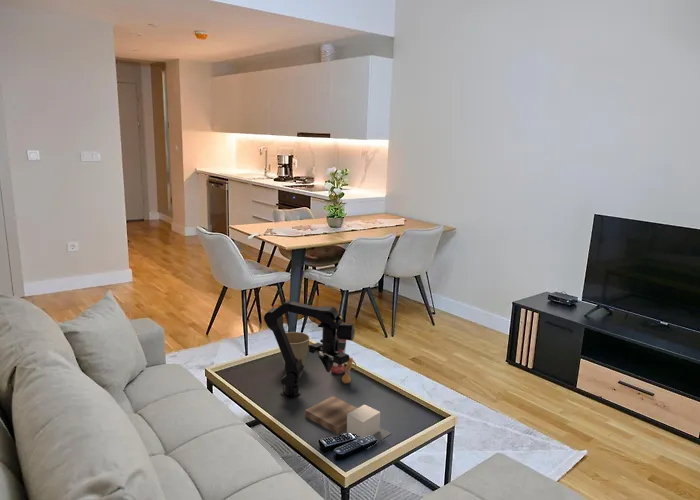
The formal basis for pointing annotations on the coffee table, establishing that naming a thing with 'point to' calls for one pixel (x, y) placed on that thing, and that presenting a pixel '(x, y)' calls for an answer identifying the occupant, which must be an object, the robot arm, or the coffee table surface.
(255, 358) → the coffee table surface
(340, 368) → the liquor
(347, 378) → the figurine
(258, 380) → the coffee table surface
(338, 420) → the walnut board
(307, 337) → the plant pot
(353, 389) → the coffee table surface
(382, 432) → the mat
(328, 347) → the robot arm
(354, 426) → the beige block
